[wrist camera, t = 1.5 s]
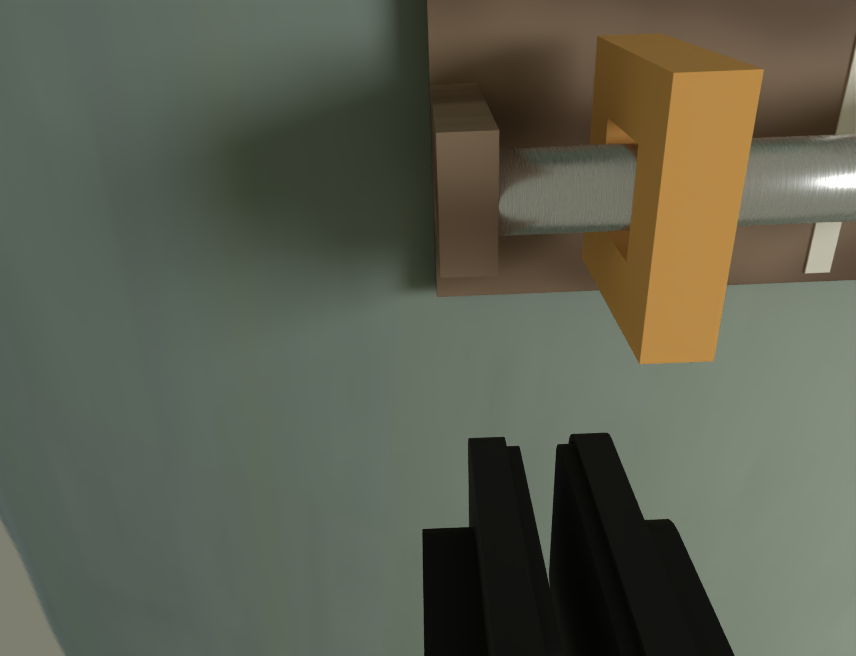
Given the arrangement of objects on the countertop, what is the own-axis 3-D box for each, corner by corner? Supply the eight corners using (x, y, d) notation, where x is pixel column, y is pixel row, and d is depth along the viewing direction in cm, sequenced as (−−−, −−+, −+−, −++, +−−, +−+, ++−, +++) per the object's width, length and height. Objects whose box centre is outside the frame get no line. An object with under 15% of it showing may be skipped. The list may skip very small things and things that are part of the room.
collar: (597, 36, 27) (673, 73, 19) (661, 33, 27) (763, 69, 19) (582, 258, 31) (639, 364, 23) (637, 255, 31) (713, 361, 23)
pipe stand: (425, -48, 30) (430, -46, 20) (1032, -74, 30) (1319, -82, 20) (436, 284, 37) (444, 400, 27) (927, 264, 37) (1104, 373, 27)
